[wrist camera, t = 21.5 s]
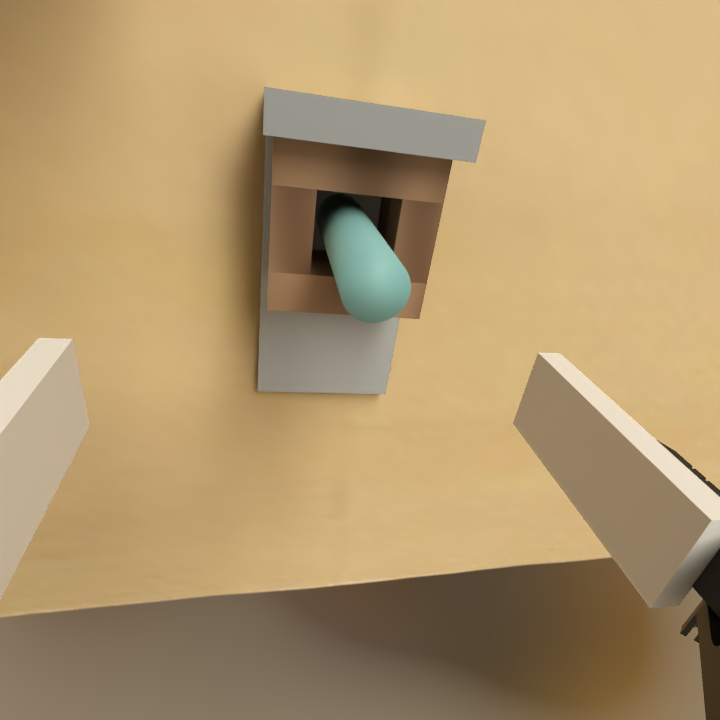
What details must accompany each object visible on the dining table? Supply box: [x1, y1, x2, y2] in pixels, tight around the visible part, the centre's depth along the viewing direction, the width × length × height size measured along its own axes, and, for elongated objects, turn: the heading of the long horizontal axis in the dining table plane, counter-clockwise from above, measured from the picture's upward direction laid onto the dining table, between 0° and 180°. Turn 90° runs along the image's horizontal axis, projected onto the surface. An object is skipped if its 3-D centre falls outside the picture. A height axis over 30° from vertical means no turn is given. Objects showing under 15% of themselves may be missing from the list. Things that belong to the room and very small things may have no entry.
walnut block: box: [267, 136, 452, 319], centre depth 30 cm, size 10×10×6 cm
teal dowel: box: [317, 194, 411, 323], centre depth 27 cm, size 3×3×14 cm
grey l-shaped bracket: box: [258, 87, 486, 394], centre depth 32 cm, size 11×22×9 cm, turn 173°
